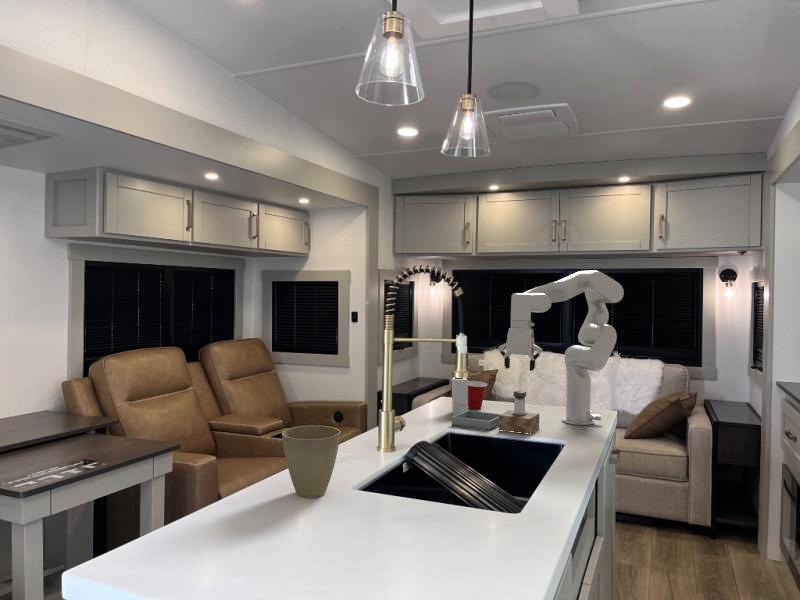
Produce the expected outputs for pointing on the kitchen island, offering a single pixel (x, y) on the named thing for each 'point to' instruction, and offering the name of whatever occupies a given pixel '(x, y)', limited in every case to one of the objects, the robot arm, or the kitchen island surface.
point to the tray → (476, 420)
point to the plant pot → (311, 457)
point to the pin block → (519, 422)
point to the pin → (519, 403)
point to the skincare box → (459, 395)
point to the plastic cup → (475, 394)
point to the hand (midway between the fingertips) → (519, 369)
